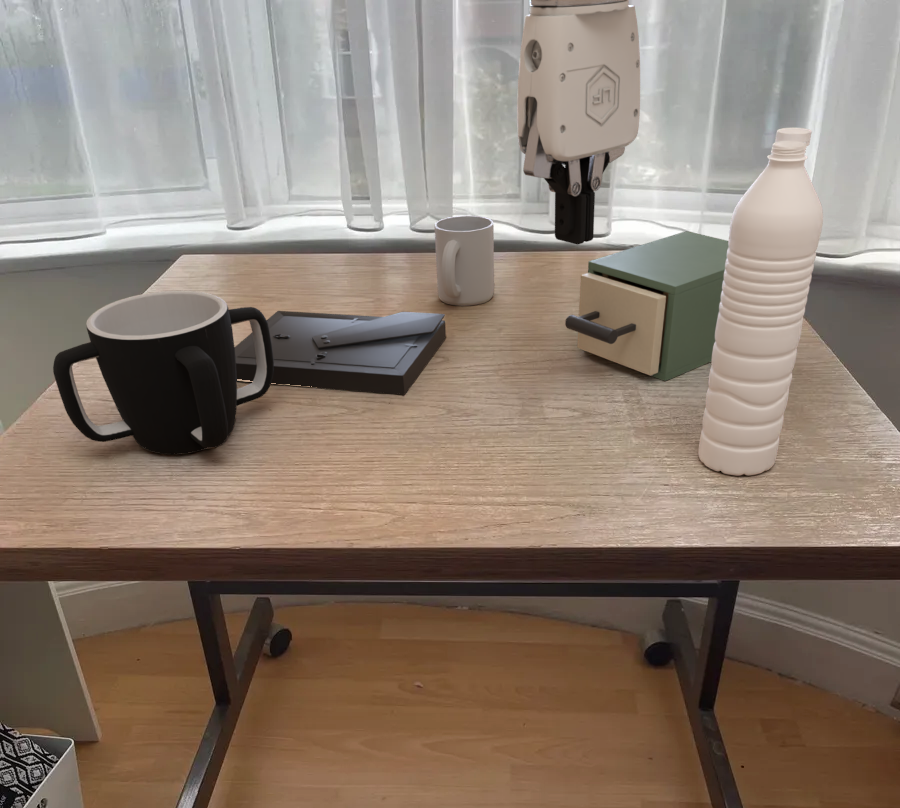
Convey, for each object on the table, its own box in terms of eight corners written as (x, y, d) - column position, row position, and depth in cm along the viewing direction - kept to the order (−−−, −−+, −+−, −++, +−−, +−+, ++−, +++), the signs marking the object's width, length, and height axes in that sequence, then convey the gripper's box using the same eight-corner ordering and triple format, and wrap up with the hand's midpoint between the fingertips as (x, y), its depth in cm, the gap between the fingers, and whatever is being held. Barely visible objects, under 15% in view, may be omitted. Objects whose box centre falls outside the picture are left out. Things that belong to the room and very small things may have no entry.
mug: (300, 408, 90) (281, 287, 83) (220, 487, 78) (191, 353, 71) (158, 393, 94) (129, 277, 87) (62, 465, 82) (19, 338, 75)
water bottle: (771, 482, 75) (837, 152, 60) (692, 471, 77) (736, 149, 62) (780, 436, 81) (841, 128, 66) (706, 427, 83) (750, 126, 68)
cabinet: (665, 381, 92) (675, 286, 86) (583, 350, 99) (588, 261, 93) (759, 341, 99) (774, 251, 93) (676, 315, 106) (686, 230, 101)
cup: (502, 290, 116) (501, 217, 111) (474, 316, 109) (473, 240, 103) (450, 285, 118) (447, 214, 113) (420, 311, 111) (415, 236, 106)
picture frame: (446, 338, 103) (280, 327, 108) (444, 313, 102) (276, 304, 107) (404, 395, 91) (220, 380, 96) (402, 368, 90) (215, 355, 95)
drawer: (621, 387, 89) (628, 309, 84) (548, 358, 95) (550, 284, 91) (740, 338, 98) (752, 265, 93) (666, 314, 104) (673, 245, 100)
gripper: (540, -3, 62) (540, 268, 73) (683, -21, 69) (663, 229, 80) (471, -3, 67) (481, 251, 78) (611, -20, 74) (602, 215, 85)
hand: (573, 239), depth 79 cm, fingers closed
